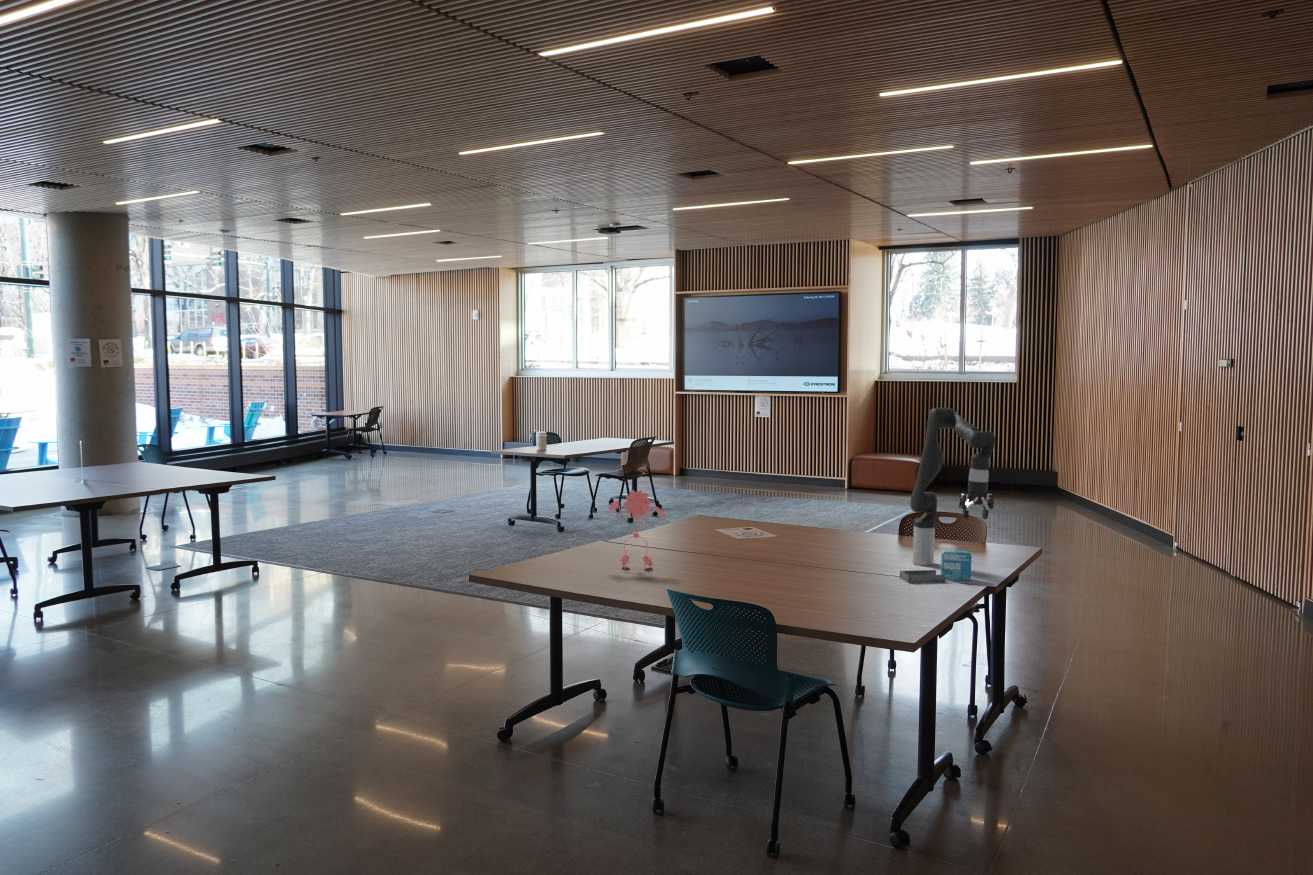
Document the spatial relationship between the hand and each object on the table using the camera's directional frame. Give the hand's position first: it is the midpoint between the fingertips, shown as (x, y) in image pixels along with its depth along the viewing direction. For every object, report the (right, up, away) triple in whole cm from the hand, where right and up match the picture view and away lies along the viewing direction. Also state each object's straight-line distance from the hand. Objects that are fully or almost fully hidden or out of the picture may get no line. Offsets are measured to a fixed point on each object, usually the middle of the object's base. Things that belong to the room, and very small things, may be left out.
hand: (975, 518), depth 367 cm
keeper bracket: (-18, -27, +14) cm, 35 cm away
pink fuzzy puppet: (-139, -25, +39) cm, 146 cm away
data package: (-3, -27, +16) cm, 32 cm away
